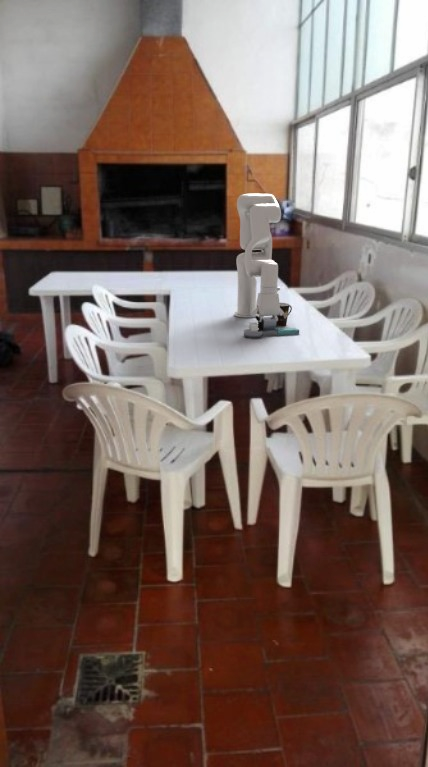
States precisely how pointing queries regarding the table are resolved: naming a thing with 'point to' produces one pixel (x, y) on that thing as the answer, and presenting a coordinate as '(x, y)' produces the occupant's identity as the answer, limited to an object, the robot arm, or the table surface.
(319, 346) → the table surface
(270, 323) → the brushed metal cube
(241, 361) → the table surface
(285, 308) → the coffee mug
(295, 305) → the table surface
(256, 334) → the ratchet
